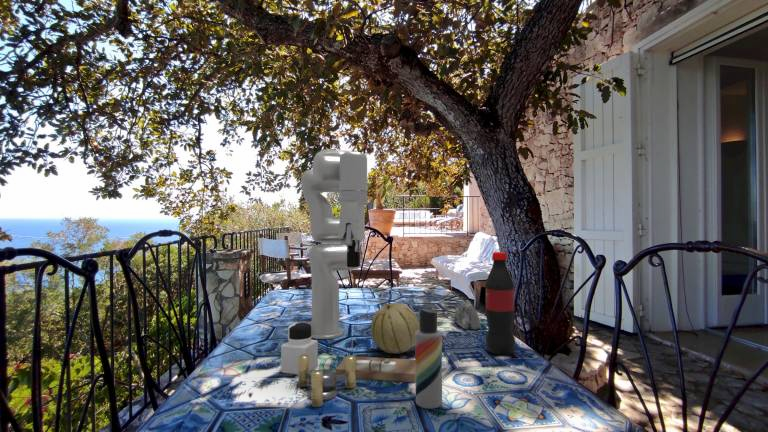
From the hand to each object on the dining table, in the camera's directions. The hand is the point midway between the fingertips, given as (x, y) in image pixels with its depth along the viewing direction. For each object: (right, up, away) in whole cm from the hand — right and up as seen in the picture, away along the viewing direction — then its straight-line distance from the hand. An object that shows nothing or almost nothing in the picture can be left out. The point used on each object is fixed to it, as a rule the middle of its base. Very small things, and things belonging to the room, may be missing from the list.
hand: (353, 266), depth 105 cm
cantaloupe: (+12, -28, +13) cm, 32 cm away
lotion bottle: (+18, -27, -21) cm, 38 cm away
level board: (+7, -27, -3) cm, 28 cm away
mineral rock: (+40, -28, +43) cm, 65 cm away
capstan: (-6, -27, -17) cm, 32 cm away
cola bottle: (+43, -27, +12) cm, 52 cm away
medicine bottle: (-14, -27, -1) cm, 31 cm away
